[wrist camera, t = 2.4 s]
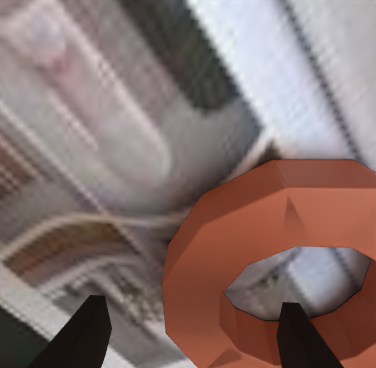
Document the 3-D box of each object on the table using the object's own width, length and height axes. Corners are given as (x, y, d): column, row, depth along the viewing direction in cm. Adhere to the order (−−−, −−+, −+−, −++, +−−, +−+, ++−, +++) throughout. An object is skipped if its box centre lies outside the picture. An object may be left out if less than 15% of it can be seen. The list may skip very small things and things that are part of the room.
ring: (175, 344, 17) (170, 388, 14) (163, 158, 11) (152, 185, 9) (381, 353, 16) (409, 402, 14) (473, 159, 10) (541, 189, 8)
